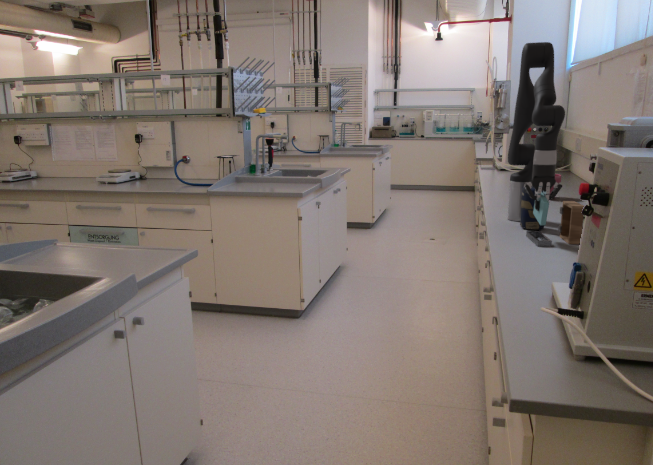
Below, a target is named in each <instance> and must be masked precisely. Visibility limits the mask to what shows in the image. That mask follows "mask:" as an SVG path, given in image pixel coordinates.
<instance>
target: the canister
mask: <svg viewBox="0 0 653 465" xmlns="http://www.w3.org/2000/svg"><path fill="white" fill-rule="evenodd" d="M531 187H532V188H531V191H532V192H533V194H534V196H535V188H534V187H533V185H532V186H531ZM542 193H543V191H542ZM534 204H535V200H534V199H532V198H530V197H529V195H528V193H527V191H526V189H525V188H523V189H522V200H521V219H520V221H519V226H520V227H521V228H523V229H527V230H542V229H544V228H545V226H546V225H540V224H539V222H538V221H537V219H536V217H535V216H534V214H533V210H534Z"/></svg>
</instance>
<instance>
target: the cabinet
mask: <svg viewBox="0 0 653 465" xmlns="http://www.w3.org/2000/svg"><path fill="white" fill-rule="evenodd" d="M584 206H585V205H583V204H582V203H580V202H576V201H575V200H562V206H560V207H559V214H560V216H561V220H560V224H558V228H557V232H559V238H560V239H561V240H562V241H564V242H566V243H567V244H568V245H580V244H579V243H580V238H581V239H582V237H581V234H582V233H583V224H584V216H585V215H584V216H583V215H582V213H581V212H582V209H583V207H584ZM584 208H585V207H584Z"/></svg>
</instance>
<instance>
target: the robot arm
mask: <svg viewBox="0 0 653 465" xmlns="http://www.w3.org/2000/svg"><path fill="white" fill-rule="evenodd" d="M520 58H521V59H520V70H519V80H518V81H519V84H518V90H517V95H516V101H515V108H514V116H513V125H512V131H511V132H512V133H511V136H510V142H509V146H508V151H507V152H508V153H507V162H508V163H507V164H509V165H511V166H524V167H523V168H522V169H521V170H518V171H516V172H514V173H511V174H510V177H509V190H508V191H509V192H508V204H507V205H508V207H507V219H508V220H510V221H514V222H520V219H521V200H522V189H523V188H525V189H526V191H527V193H528V195H529V197H530V198H532V199H534V200H535V209H536V210H537V211H539V208H540V196H541V192H542V191H543V194H544V195H545V197H546V198H547V200H548V201H549V202H550V200H554V199H555V198H556V196H557V195H558V193H559V192H560V191H561V189H562V188H563V184H561V183H557V182H556V180H555V174H556V168H557V159H558V158H557V156H558V155H557V147H558V139H559V138H558V137H559V133H560V132H561V127H562V125H563V123H564V120H565V117H566V111H565V108H564V107H563V105H560V104H556V103H557V93H556V88H555V49H554V44H552V42H549V41H548V42H547V41H544V42H543V41H541V42H527V43H525V44H524V45H523V47H522V52H521V56H520ZM543 68H544V69H543ZM530 69H543V71H542V72H541V73H540V75H539V77H538V78H537V79H536V81H535V82H534V84H533V81H532V79H531V75H530V74H531V73H530ZM533 125H534V126H537V127H551V128H550V129H549V130H548V131H545V132H541V133H538V134H536V135H535V144H534V143H520V142H521V140H522V137H523V136H524V135H525V133H526V132H527V131H528V130H529V129H530V128H531V126H533ZM532 185H533V187H534V188H535V196H534V194H533V192H532V191H531V188H532V187H531V186H532ZM553 185H554V189H553V191H552V192H551V193H550V189H551V188H552V187H553ZM549 194H550V195H549Z"/></svg>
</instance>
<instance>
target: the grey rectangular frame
mask: <svg viewBox="0 0 653 465" xmlns="http://www.w3.org/2000/svg"><path fill="white" fill-rule="evenodd" d="M525 236H526V238H528V239H529V241H530V242H532V244H534V245H535V246H536V247H552V244H553V240H552V239H550V238H549V237H547V236H546V235H545V234H544V233H543V232H541V231H538V230H537V231H534V230H528V231H527V230H526V235H525Z"/></svg>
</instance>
